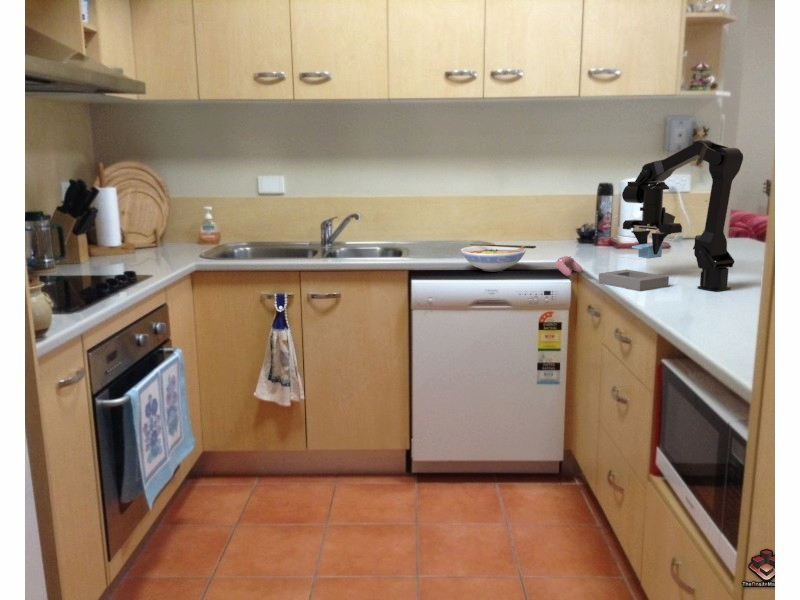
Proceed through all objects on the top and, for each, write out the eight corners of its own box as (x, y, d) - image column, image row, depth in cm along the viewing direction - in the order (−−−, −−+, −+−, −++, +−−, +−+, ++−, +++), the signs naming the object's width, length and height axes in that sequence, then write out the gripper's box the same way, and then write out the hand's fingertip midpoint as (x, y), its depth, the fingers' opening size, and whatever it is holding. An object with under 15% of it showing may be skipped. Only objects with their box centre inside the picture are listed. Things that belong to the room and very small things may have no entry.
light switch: (668, 286, 196) (668, 276, 196) (639, 291, 191) (640, 280, 190) (626, 278, 210) (626, 269, 210) (598, 282, 205) (598, 273, 204)
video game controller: (572, 275, 227) (564, 257, 227) (583, 270, 224) (575, 251, 224) (559, 280, 219) (551, 260, 220) (571, 275, 216) (562, 255, 217)
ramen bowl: (446, 272, 230) (445, 249, 229) (476, 263, 249) (476, 241, 247) (512, 278, 217) (512, 253, 215) (539, 267, 235) (539, 244, 234)
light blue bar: (667, 255, 212) (668, 243, 211) (641, 259, 206) (642, 246, 206) (657, 254, 216) (658, 242, 215) (631, 257, 210) (632, 245, 209)
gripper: (695, 204, 203) (692, 254, 207) (646, 201, 219) (644, 248, 223) (670, 206, 198) (667, 257, 201) (622, 203, 214) (620, 251, 217)
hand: (649, 253), depth 211 cm, fingers closed on light blue bar, 4 cm apart
